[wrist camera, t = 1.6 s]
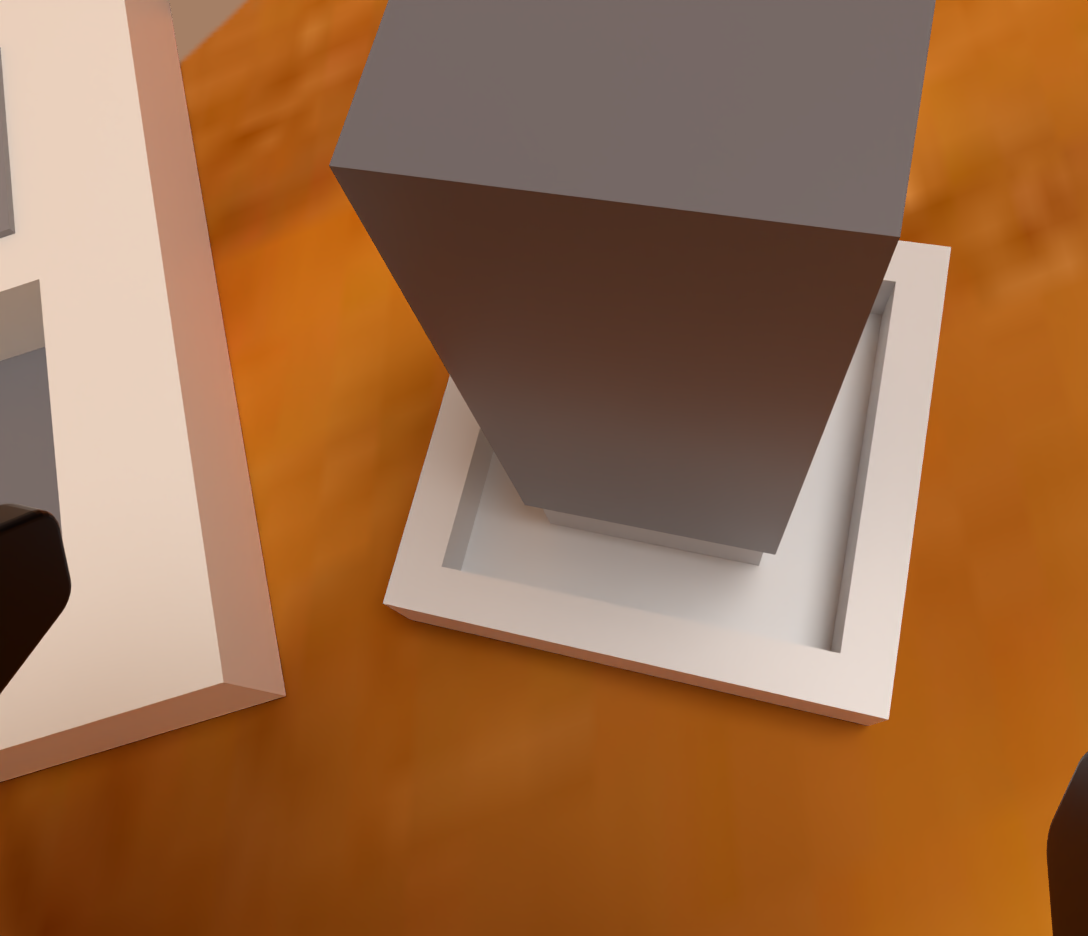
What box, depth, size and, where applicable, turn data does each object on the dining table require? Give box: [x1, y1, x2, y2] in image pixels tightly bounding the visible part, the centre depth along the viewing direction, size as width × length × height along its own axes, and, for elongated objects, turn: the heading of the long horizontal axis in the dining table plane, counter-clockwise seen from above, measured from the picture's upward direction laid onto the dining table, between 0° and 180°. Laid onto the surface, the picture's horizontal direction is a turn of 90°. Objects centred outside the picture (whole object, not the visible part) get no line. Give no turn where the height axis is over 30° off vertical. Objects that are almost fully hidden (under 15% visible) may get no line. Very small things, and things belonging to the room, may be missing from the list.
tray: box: [383, 241, 951, 726], centre depth 20 cm, size 10×10×2 cm
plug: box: [329, 0, 936, 566], centre depth 15 cm, size 5×5×13 cm
